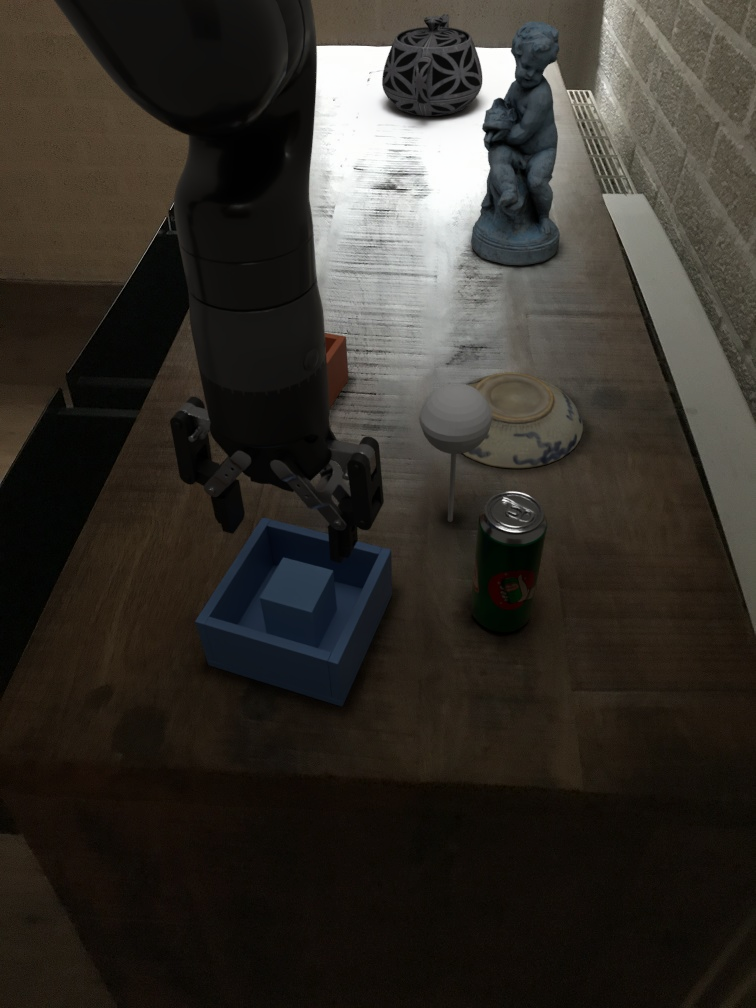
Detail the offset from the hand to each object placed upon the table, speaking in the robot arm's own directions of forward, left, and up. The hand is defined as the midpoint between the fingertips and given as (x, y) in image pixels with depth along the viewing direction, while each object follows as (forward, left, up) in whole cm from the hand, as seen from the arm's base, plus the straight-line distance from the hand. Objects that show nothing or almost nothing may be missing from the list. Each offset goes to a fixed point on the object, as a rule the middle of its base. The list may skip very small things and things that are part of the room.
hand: (286, 539), depth 58 cm
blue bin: (0, 0, -11) cm, 11 cm away
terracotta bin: (-15, +28, -11) cm, 34 cm away
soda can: (+15, +7, -12) cm, 20 cm away
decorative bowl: (+10, +32, -12) cm, 36 cm away
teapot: (-27, +124, -12) cm, 128 cm away
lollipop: (+8, +16, -12) cm, 22 cm away
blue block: (0, +1, -11) cm, 11 cm away
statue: (+1, +72, -12) cm, 73 cm away
